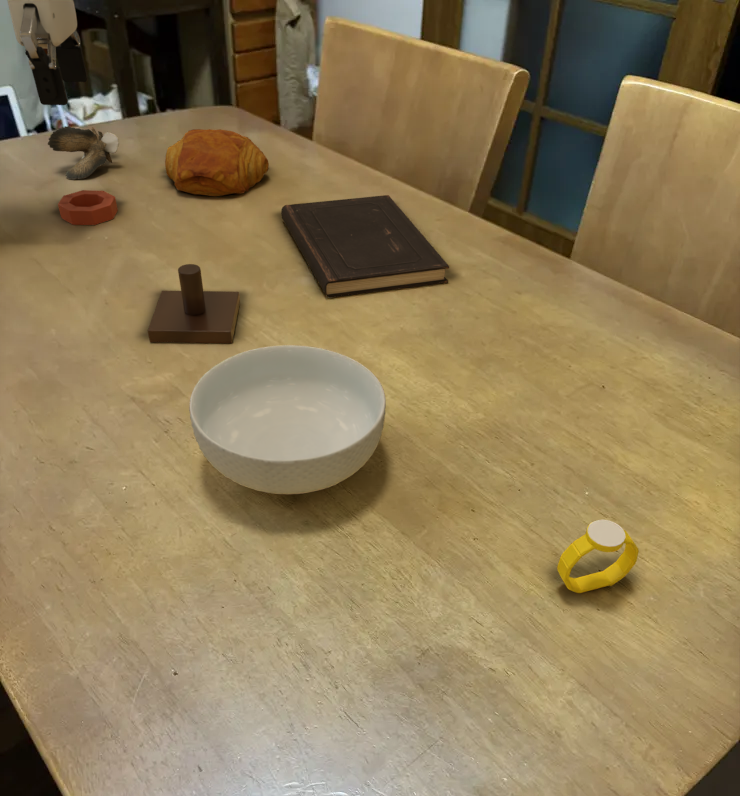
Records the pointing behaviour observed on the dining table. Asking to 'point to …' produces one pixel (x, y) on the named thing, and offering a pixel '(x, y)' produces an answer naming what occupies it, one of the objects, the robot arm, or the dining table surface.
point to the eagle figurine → (84, 148)
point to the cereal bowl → (288, 418)
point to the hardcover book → (362, 246)
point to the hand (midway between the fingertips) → (65, 92)
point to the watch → (603, 539)
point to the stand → (194, 312)
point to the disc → (87, 207)
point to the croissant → (215, 163)
